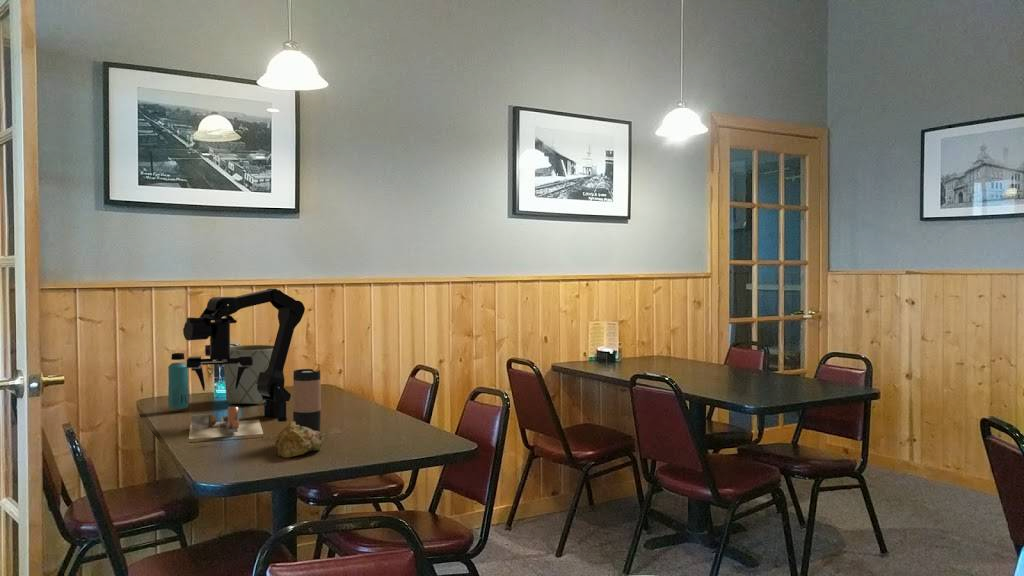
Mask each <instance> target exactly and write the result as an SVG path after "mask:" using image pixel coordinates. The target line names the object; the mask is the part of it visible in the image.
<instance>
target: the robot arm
mask: <svg viewBox="0 0 1024 576" xmlns="http://www.w3.org/2000/svg"><path fill="white" fill-rule="evenodd" d="M267 303H270V304H271V305H272V307H274V309H276V310H277V311H278V312H277V320H278V325H279V326H278V329H277V333H276V336H275V341H274V344H273V346H274V347H273V351H272V354H271V358H270V362H269V365H268V368H267V369H266V371H265V372H260V373H259V378H258V381H257V383H256V384H258V385H257V390H258V392H259V393H260V394H261V396H262V399H263V400H266V402H265V404H263V417H264V418H276V420H277V421H288V418H287V402H290V400H291V396H292V394H291V393H290V392H289V391H288V390H287V389H286V388H285V375H284V368H285V365H286V361H287V357H288V354H289V350H290V345H291V342H292V337H293V335H294V331H295V328H296V327H297V326H298V324H299V323H300V322H301V321H302V318H303V317H304V314H305V310H306V307H305V305H304V304H303V302H302V301H300V300H298V299H297V300H296V299H295V298H294V297H291V296H289V295H288V294H286V293H284V292H283V291H281V290H280V289H279V288H270V287H269V288H267V289H265V290H259V291H254V292H250V293H246V294H242V295H238V296H213V297H212V298H210V299H208V302H207V303H206V307H205V308H204V310H203V312H202V313H201V314H200V316H199V317H193V316H192V317H189V316H188V317H186V322H185V323H184V325H183V328H182V329H183V330H182V331H183V337H184V339H185V340H186V341H189V342H190V341H201V340H208V339H209V344H205V346H204V348H205V349H204V353H205V354H204V356H205V357H209V358H202V355H201V356H188V357H187V359H186V364H187V368H188V369H191V371H193V372H194V371H195V373H196V375H197V377H198V378H199V383H200V385H201V388H202V390H203V391H205V389H206V388H205V387H206V386H205V379H204V372H203V371H204V370H203V366H204V365H205V366H208V365H224V364H238V367H237V375H236V383H235V389H237V387H238V384H239V381H240V378H241V376H242V374H243V372H244V370H245V369H247V368H248V366H251V365H253V358H252V356H251V355H239V358H230V346H231V324H237V323H238V321H237V320H236V319H235V318H234V317H233V316H232V315H233V314H235V313H237V312H239V311H240V310H242V309H246V308H249V307H254V306H257V305H262V304H267ZM225 359H227V360H225ZM224 361H226V362H224Z"/></svg>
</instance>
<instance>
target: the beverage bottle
mask: <svg viewBox="0 0 1024 576" xmlns="http://www.w3.org/2000/svg"><path fill="white" fill-rule="evenodd" d="M170 360H173V361H174V360H175V361H180V360H186V359H185V352H184V353H183V352H174V353H171V359H170ZM167 368H168V373H167V374H168V387H167V390H168V391H167V393H168V408H169V409H172V410H173V409H174V410H181V409H182V410H183V409H187V408H188V407H189V401H190V396H189V383H190V382H189V380H190V379H189V368H187V362H172V363H170V364H169V365H168V366H167Z"/></svg>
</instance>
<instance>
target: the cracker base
mask: <svg viewBox="0 0 1024 576" xmlns="http://www.w3.org/2000/svg"><path fill="white" fill-rule="evenodd" d="M209 415H210V414H203V413H197V414H191V423H190V426H189V433H188V435H189V436H188V439H189V440H196V439H210V438H224V437H239V436H240V437H241V436H254V435H264V432H263V428H262V425H261V421H260V419H251V420H250V419H248V420H239V428H238V432H232V433H229V432H228V431H227V429H226V427H225V426H224V424H223V422H222V421H219V422H218V421H216V424H215V425H214V426H212V427H209ZM251 439H252V440H253V439H264V436H261V437H248V438H246V437H245V438H243V440H251ZM237 440H240V441H241V440H242V438H233V439H232V438H231V439H217V440H216V439H215V440H202V441H188V444H195V443H209V442H211V443H212V442H224V441H225V442H226V441H237Z"/></svg>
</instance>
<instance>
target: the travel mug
mask: <svg viewBox="0 0 1024 576" xmlns="http://www.w3.org/2000/svg"><path fill="white" fill-rule="evenodd" d="M292 378H293V379H292V380H293V383H292V384H293V385H292V386H293V390H292V391H293V393H292V394H293V395H292V399H293V400H292V403H293V404H292V412H293V413H292V416H293V418H292V420H293V421H292V422H294V421H295V422H296V425H299V426H303V427H307V428H310V429H312V430H314V431H319V432H321V418H322V417H321V414H322V413H321V412H322V411H321V410H322V407H321V406H322V403H321V402H322V401H321V397H322V394H321V393H322V392H321V388H322V387H321V386H322V385H321V370H320V369H318V370H317V371H316V370H314V369H312V368H304V369H303V368H302V369H300V368H299V369H294V370H293V377H292Z"/></svg>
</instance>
